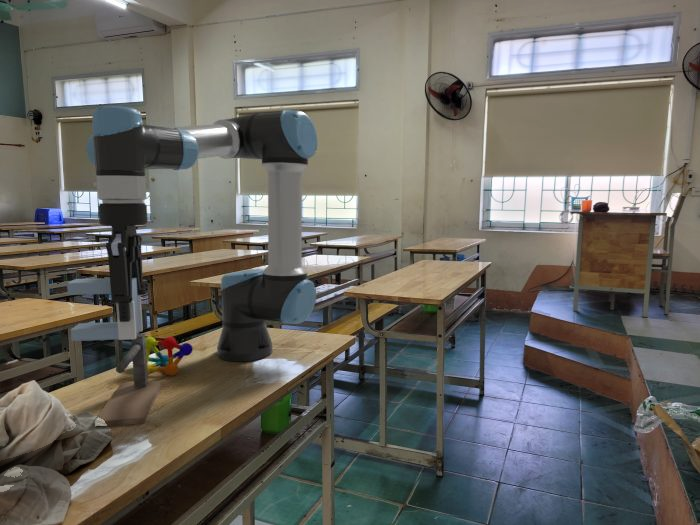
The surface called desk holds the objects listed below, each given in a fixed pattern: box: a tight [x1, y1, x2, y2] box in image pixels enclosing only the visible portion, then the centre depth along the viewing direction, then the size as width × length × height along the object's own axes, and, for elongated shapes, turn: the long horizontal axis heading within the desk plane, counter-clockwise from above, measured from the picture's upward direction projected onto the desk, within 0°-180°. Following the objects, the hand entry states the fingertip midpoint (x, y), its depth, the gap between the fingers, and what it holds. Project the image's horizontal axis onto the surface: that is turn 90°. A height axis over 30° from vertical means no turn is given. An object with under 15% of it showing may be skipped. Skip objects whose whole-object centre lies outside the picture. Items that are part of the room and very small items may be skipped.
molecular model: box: [145, 336, 194, 376], centre depth 123 cm, size 11×10×15 cm
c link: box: [66, 277, 140, 342], centre depth 85 cm, size 10×4×10 cm, turn 100°
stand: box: [97, 333, 163, 427], centre depth 104 cm, size 9×19×13 cm, turn 10°
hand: (131, 334), depth 87 cm, fingers closed on c link, 4 cm apart
